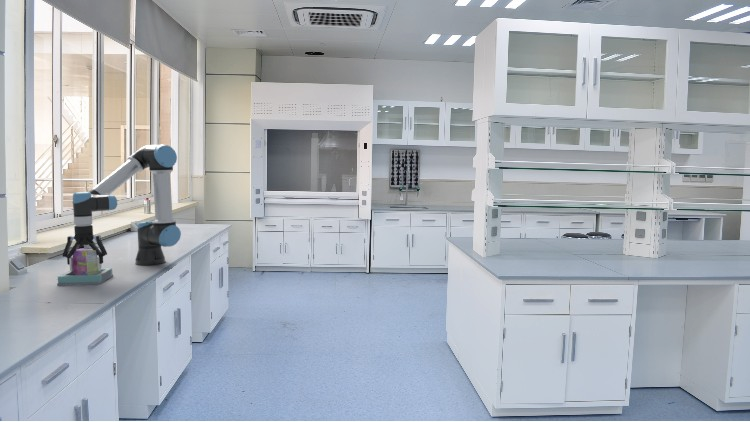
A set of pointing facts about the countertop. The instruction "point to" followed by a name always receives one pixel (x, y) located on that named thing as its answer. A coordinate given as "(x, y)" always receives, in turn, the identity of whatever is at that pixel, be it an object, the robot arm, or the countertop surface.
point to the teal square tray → (84, 278)
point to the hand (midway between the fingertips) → (85, 270)
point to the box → (85, 262)
